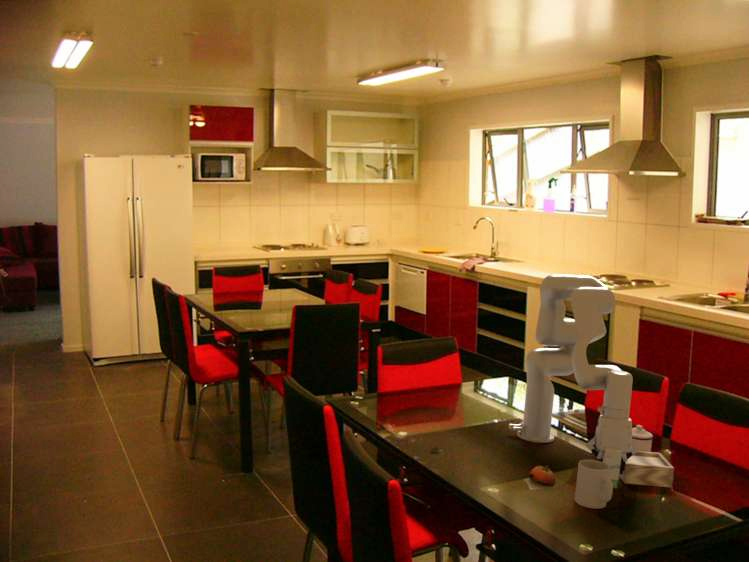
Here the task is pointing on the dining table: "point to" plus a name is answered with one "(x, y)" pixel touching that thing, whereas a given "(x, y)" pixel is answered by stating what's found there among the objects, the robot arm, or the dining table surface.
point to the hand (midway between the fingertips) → (609, 471)
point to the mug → (593, 484)
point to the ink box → (613, 463)
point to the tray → (648, 470)
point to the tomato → (543, 475)
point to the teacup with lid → (642, 439)
